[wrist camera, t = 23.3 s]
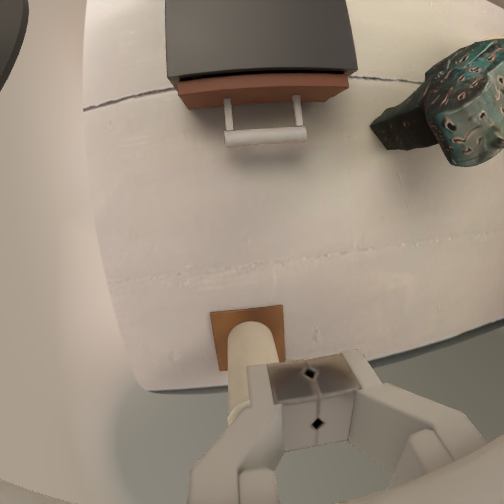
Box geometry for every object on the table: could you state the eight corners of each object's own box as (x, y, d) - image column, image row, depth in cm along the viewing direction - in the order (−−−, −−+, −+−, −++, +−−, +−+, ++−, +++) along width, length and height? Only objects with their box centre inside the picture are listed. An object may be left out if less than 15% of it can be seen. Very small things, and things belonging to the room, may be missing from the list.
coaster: (219, 369, 37) (219, 371, 36) (210, 312, 35) (210, 313, 34) (284, 362, 37) (285, 364, 37) (282, 304, 35) (282, 306, 35)
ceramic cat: (382, 167, 31) (526, 185, 12) (346, 119, 30) (479, 83, 11) (471, 82, 29) (589, 64, 10) (444, 41, 27) (557, 0, 8)
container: (229, 361, 36) (232, 443, 24) (223, 322, 35) (223, 401, 22) (274, 356, 36) (294, 436, 24) (272, 317, 35) (293, 393, 22)
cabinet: (326, 91, 29) (358, 69, 21) (183, 99, 28) (167, 77, 20) (309, -19, 25) (329, -59, 17) (178, -14, 24) (166, -56, 16)
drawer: (328, 143, 30) (354, 138, 23) (192, 153, 29) (182, 149, 22) (309, -8, 25) (325, -39, 18) (183, -3, 24) (174, -36, 18)
